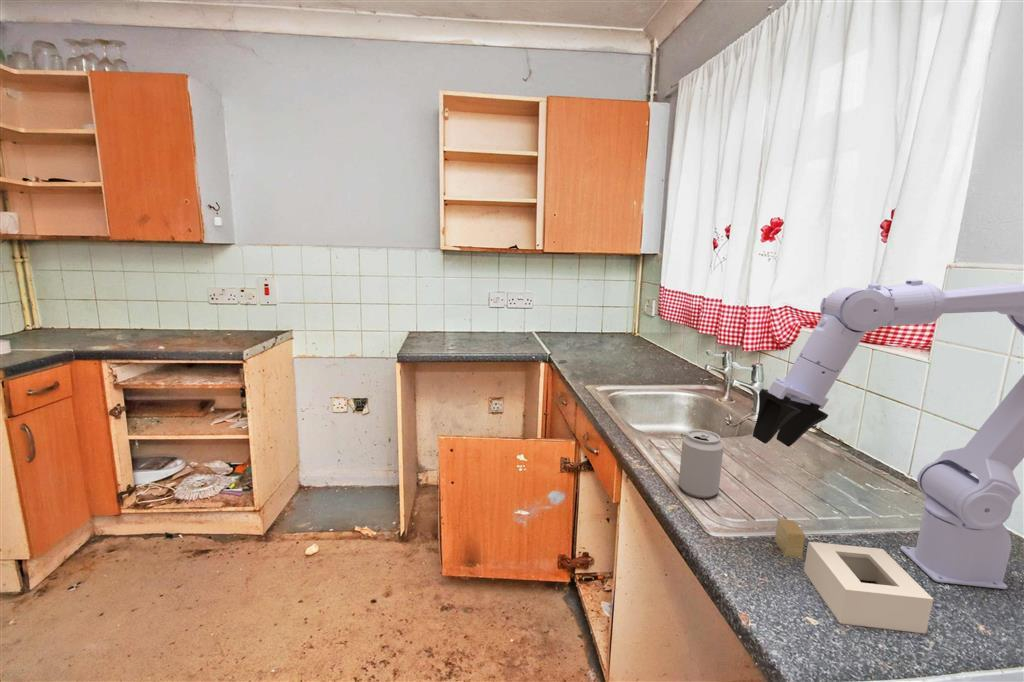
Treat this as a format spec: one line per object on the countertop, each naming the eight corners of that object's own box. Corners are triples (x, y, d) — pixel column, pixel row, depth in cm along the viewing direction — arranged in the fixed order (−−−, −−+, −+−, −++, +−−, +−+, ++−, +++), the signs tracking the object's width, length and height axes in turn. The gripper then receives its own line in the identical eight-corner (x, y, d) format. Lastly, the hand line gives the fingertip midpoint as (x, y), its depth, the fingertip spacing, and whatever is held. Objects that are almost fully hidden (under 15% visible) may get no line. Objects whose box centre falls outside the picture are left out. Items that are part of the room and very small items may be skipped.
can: (671, 490, 93) (676, 433, 91) (688, 477, 98) (693, 424, 96) (708, 504, 88) (715, 445, 85) (724, 491, 93) (730, 434, 90)
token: (790, 542, 77) (793, 520, 76) (801, 557, 73) (805, 535, 72) (774, 540, 77) (777, 519, 76) (784, 556, 73) (788, 533, 72)
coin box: (876, 579, 68) (882, 548, 67) (925, 633, 58) (933, 599, 57) (803, 571, 70) (808, 541, 69) (839, 623, 60) (845, 589, 59)
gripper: (813, 360, 76) (770, 430, 79) (770, 344, 67) (725, 423, 71) (858, 381, 70) (810, 455, 73) (818, 366, 62) (766, 450, 65)
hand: (771, 441), depth 72 cm, fingers open, 7 cm apart
